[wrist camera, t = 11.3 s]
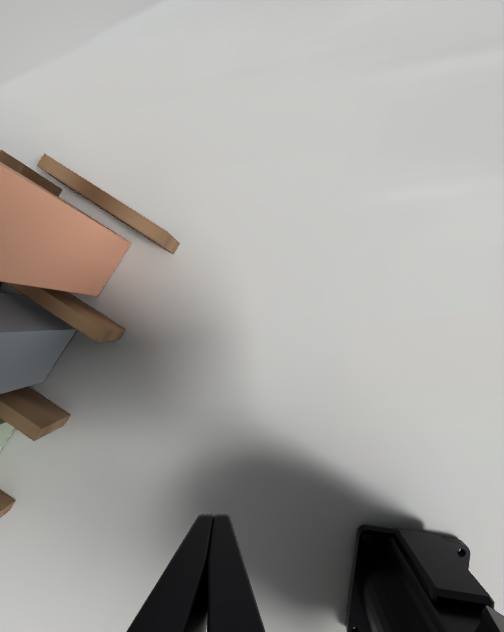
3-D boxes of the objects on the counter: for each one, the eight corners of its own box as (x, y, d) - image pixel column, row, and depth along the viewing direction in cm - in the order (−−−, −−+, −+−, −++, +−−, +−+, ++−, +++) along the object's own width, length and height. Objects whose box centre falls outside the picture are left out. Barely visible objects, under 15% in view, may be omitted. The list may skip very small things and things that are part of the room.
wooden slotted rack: (179, 243, 19) (164, 228, 16) (8, 511, 19) (-40, 547, 16) (51, 161, 19) (12, 131, 16) (-116, 424, 19) (-187, 444, 16)
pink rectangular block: (131, 243, 19) (-21, 152, 9) (97, 296, 19) (-94, 267, 9) (79, 210, 19) (-129, 83, 9) (46, 262, 19) (-201, 195, 9)
